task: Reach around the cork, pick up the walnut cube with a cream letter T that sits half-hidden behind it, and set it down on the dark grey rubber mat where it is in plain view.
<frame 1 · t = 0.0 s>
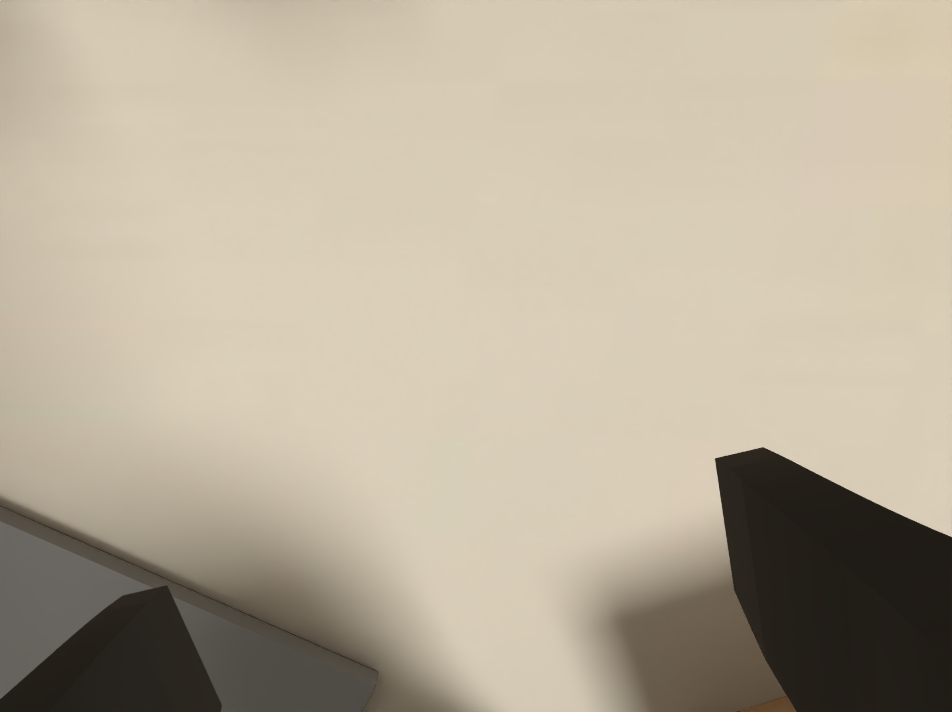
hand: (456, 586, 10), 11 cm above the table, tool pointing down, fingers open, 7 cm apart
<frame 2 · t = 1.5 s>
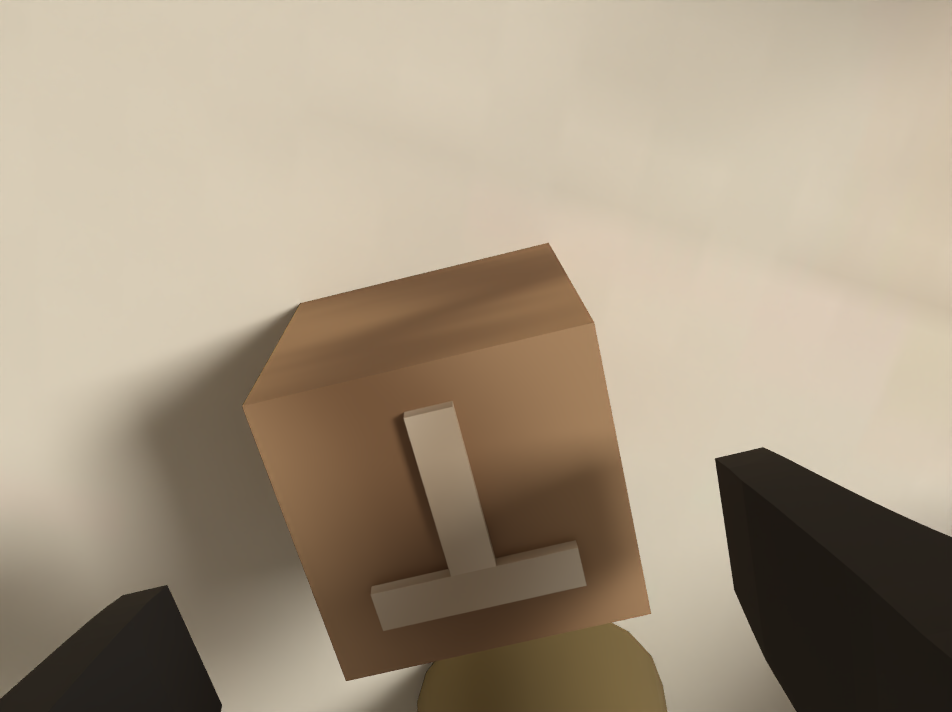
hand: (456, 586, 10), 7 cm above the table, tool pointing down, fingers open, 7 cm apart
letter cube: (454, 386, 17), on the table
cork: (539, 703, 20), on the table
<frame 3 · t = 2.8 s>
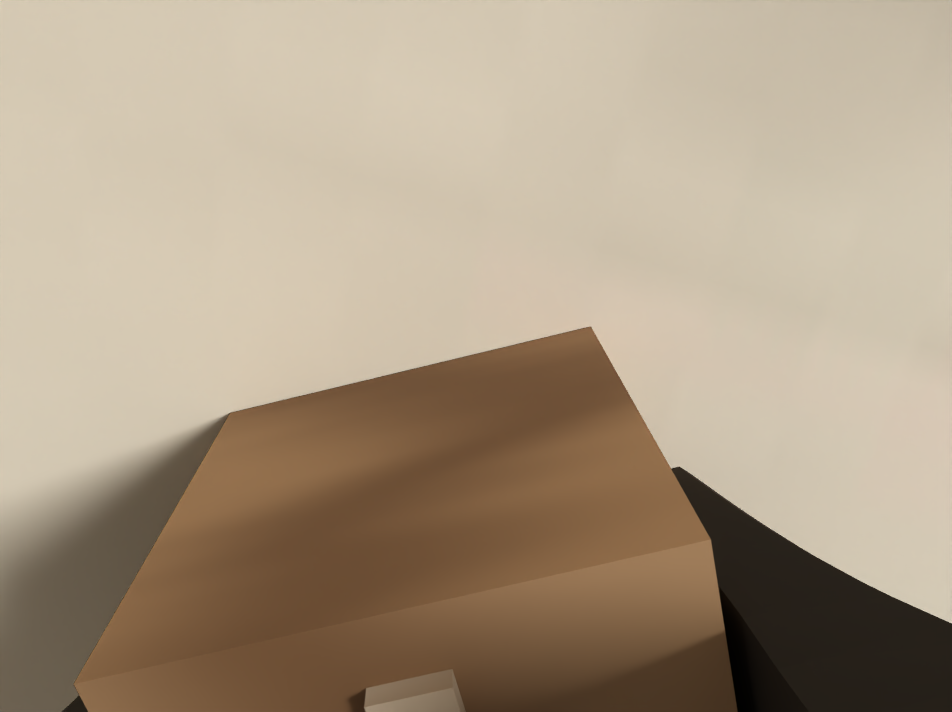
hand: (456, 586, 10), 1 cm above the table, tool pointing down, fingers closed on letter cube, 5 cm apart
letter cube: (453, 525, 12), on the table, touching gripper
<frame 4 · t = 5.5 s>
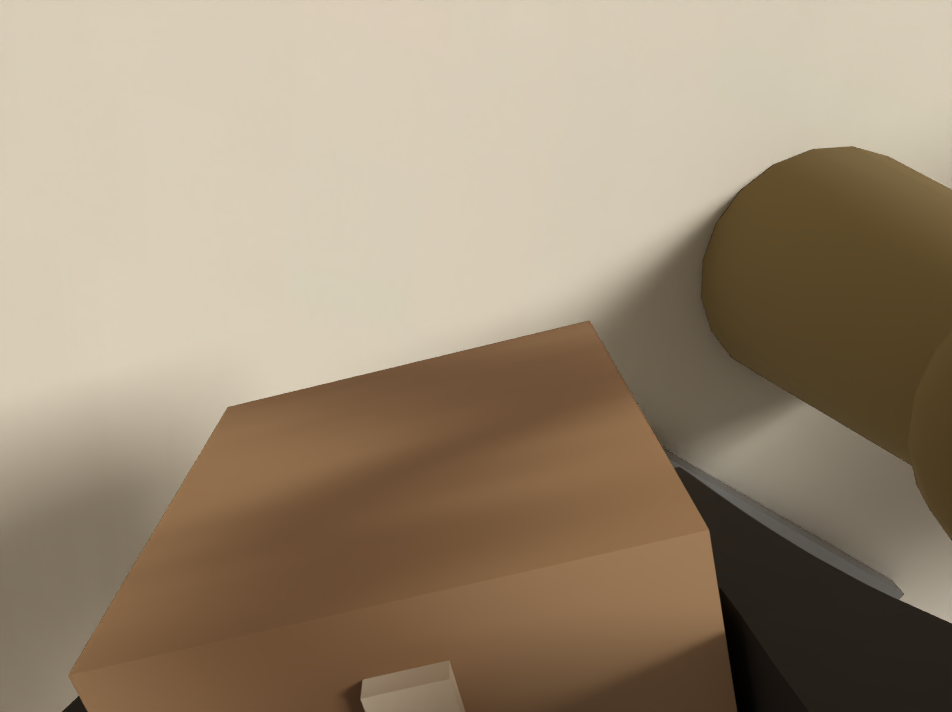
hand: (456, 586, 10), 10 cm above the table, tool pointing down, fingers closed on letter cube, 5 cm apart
letter cube: (452, 520, 12), point 9 cm above the table, touching gripper
cork: (817, 268, 20), on the table
mat: (607, 642, 24), on the table
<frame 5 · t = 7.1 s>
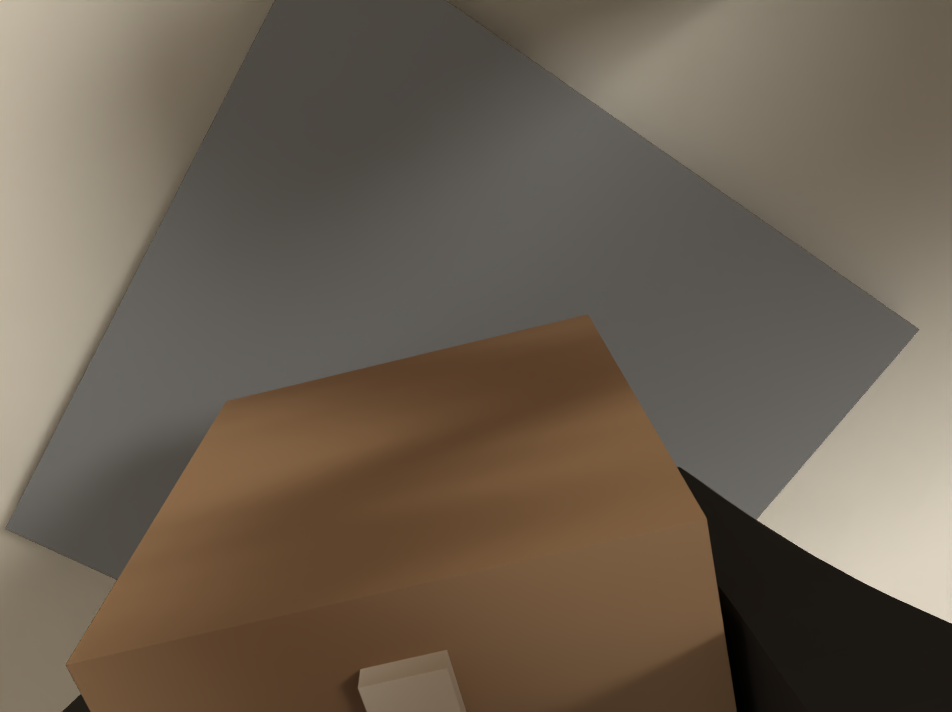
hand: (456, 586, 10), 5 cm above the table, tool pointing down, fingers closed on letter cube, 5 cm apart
letter cube: (450, 514, 12), point 4 cm above the table, touching gripper
mat: (452, 417, 15), on the table
when the fingers open (3 cm above the table, at t = 8.5 s): letter cube stays where it is, resting on mat.
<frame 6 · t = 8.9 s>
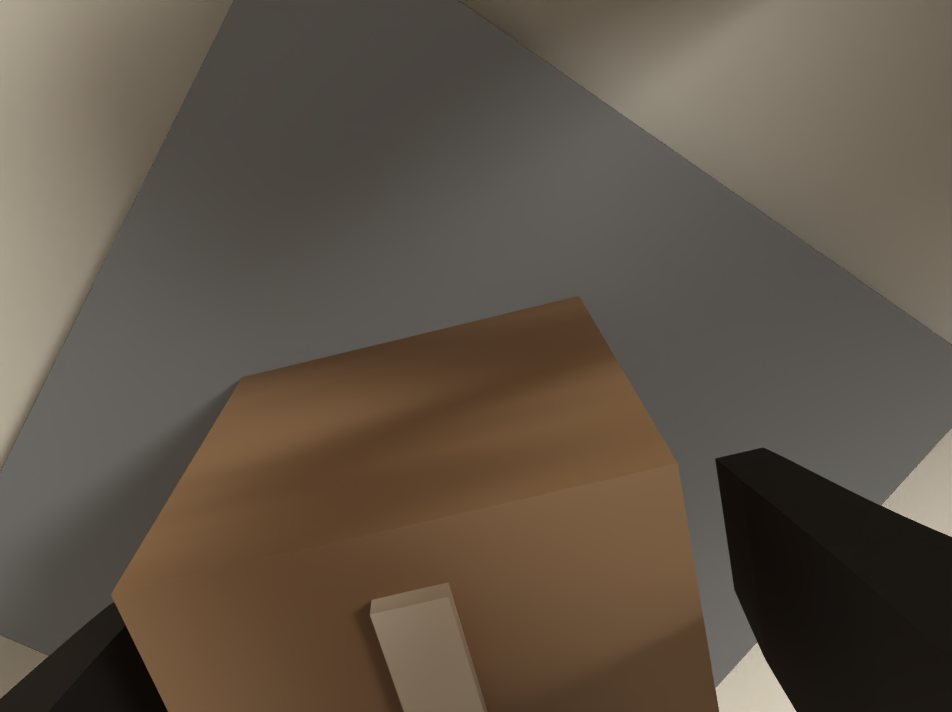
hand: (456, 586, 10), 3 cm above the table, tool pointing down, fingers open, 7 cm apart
letter cube: (451, 484, 12), point 1 cm above the table, touching mat
mat: (452, 475, 13), on the table
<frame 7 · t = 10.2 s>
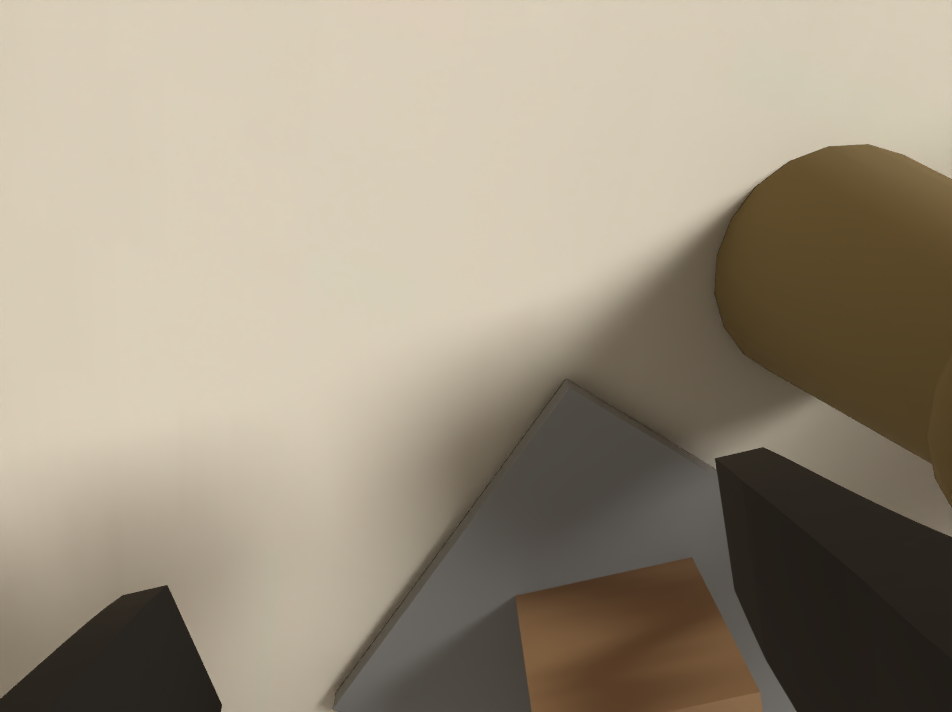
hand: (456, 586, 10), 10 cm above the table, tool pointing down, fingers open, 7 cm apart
letter cube: (617, 646, 23), point 1 cm above the table, touching mat
cork: (830, 266, 20), on the table
mat: (614, 637, 24), on the table
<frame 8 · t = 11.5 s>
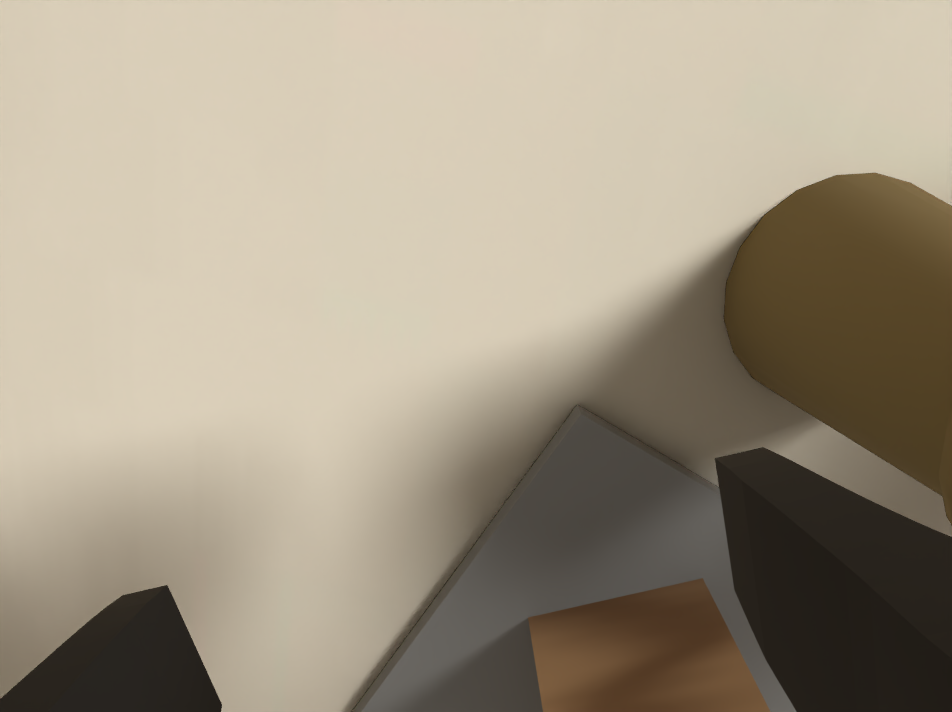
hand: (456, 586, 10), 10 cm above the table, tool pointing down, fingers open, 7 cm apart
letter cube: (629, 666, 23), point 1 cm above the table, touching mat
cork: (838, 291, 20), on the table
mat: (625, 656, 24), on the table
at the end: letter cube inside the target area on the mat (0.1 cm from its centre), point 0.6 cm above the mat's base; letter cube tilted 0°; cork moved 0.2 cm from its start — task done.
